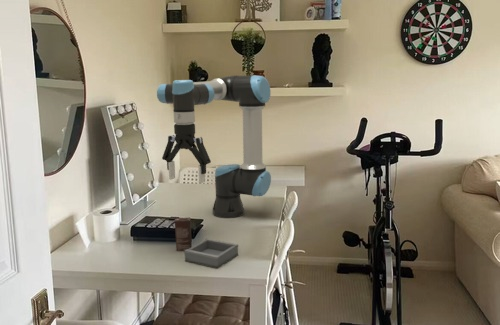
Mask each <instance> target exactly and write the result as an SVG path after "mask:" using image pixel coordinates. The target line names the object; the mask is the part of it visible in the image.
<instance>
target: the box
mask: <svg viewBox="0 0 500 325" xmlns="http://www.w3.org/2000/svg"><path fill="white" fill-rule="evenodd" d="M191 225H192V222H191V217H188V216H187V217H176V218H175V219H174V232H175V249H176V251H184V250H186V249H189V248H191V247H193V242H192V226H191Z"/></svg>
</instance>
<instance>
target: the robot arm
mask: <svg viewBox="0 0 500 325" xmlns="http://www.w3.org/2000/svg"><path fill="white" fill-rule="evenodd" d="M156 89H157V90H156V98H157V100H158V102H160V103H161V104H166V105H168V104H169V105H171V104H172V106H173V110H172V111H173V122H174V123H175V124H174V125H173V132H174V133H173V135H168V136H167V143H166V145H165V149H164V152H163V155H162V158H161V160H164V161H165V162H166V166H167V168H166V170H167V171H168V180H169V181H171V180H173V179H176V167H175V166H176V165H175V160H174V159H175V157H176V156H177V154H178V153H179V152H180V150H189V152H191V153H192V154H193V157H194V158H195V159H196V160H197V162H198V163H199V165H198V167H197V168H198V184H203V183H205V182H206V177H205V176H206V174H207V165H209V164H211V162H212V161H211V159H210V156H209V154H208V151H207V149H206V146H205V145H204V140H203V137H202V136H200V137H196V135H195V134H196V124H195V122H196V116H195V106H199V105H207V104H210V103H212V101H214V100H215V101H228V102H236V103H237V102H238V107H239V108H240V109H241V110H242V145H243V146H242V150H243V151H242V154H243V158H242V159H243V163H242V164H241V165H240V164H236V163H235V164H234V163H233V164H224V165H220V166H218V167H216V168H215V170H214V171H215V172H214V180H215V181H214V182H215V183H214V185H215V198H214V199H215V200H214V202H213V206H212V215H213V216H214V217H218V218H222V219H223V218H230V219H231V218H237V217H240V216H243V215H244V214H245V206H244V204H243V201H242V198H241V195H244V196H245V195H246V196H253V197H263V196H265V195H266V194H267V193H268V191H269V190H270V186H271V182H272V176H271V173H270V172H269V171H268V170H267V167H266V165H265V164H264V163H263V110H264V108H265V107H266V103H268V102H269V100H270V99H271V98H270V97H271V86H270V83H269V81H268V80H267V78H266V77H265V76H263V75H255V74H254V75H252V74H251V75H250V74H249V75H230V76H229V75H228V76H224V77H223V76H222V77H217V78H213V79H212V80H210V81H209V80H207V81H196V82H195V81H193V79H192V80H191V79H175V80H173V81H172V83H163V84H162V83H161V84H160V85H159V86H158V88H156Z"/></svg>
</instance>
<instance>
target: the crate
mask: <svg viewBox="0 0 500 325" xmlns="http://www.w3.org/2000/svg"><path fill="white" fill-rule="evenodd" d="M183 251H184V262H186V263H189V264H196V265H199V266H205V267H210V268H214V269H219V268H221V267H222V266H223V265H226V264H227V263H228V262H230V261H231V260H233V259H235V258H236V257H237V256H239V244H238V243H233V242H228V241H221V240H217V239H212V238H208V237H207V238H204V240H201V242H198V243H197V244H194V245H192V247H191V248H189V249H186V250H183Z"/></svg>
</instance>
